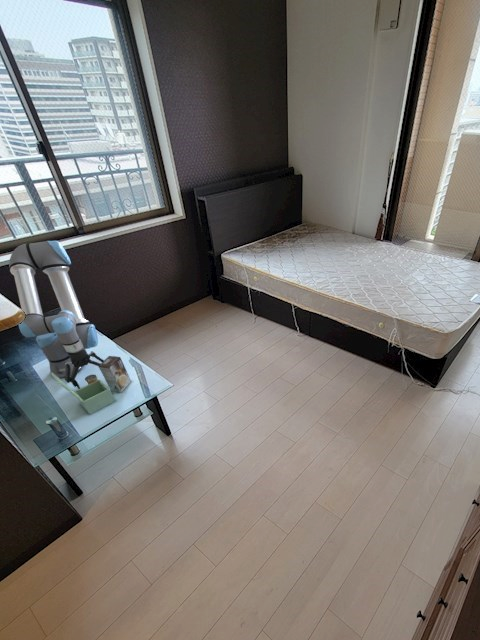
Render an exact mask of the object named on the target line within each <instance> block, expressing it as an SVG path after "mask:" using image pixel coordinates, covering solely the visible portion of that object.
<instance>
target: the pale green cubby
mask: <svg viewBox="0 0 480 640" xmlns="http://www.w3.org/2000/svg"><path fill="white" fill-rule="evenodd" d="M73 391H74V392H75V393H76V394H77V395H78V396H79V397H80V398H81V399H82V400H83V402H81V401H79V400H78V399H77V400H78V402H79V404H80V405H81V406H82V407H83V408H84V410H85V411H86V412H87V413H88V414H89V415H92V414H93V413H95V412H97V411H99V410H102V409H103V408H105V407H107V406H109V405H110V404H113V403H114V402H116V399H115V397H114V394H113V393H112V391H111V389H110V388H109V386H107V384H106V385H105V383H104V382H103V381H102V380H101V379H98V380H97V381H95V382H93V383H91V384H89V385H88V384H86V385H85V386H82V387H80V389H78V388H77V389H76V390H73Z"/></svg>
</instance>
